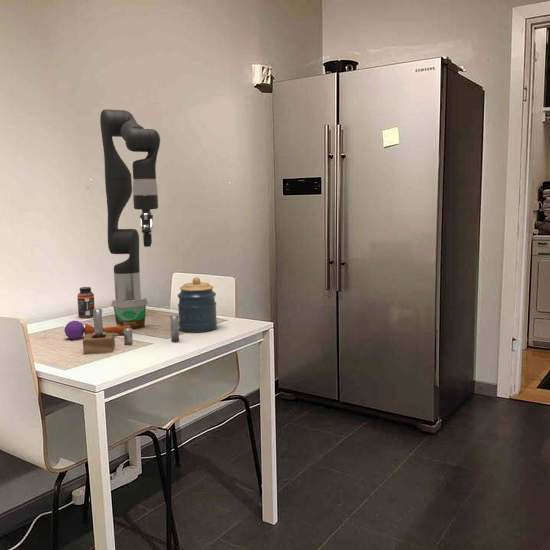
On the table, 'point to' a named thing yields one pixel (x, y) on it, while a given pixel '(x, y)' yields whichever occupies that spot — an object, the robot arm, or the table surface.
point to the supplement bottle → (85, 302)
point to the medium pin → (174, 328)
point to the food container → (130, 313)
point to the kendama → (89, 329)
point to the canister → (197, 307)
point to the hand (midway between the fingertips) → (147, 245)
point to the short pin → (128, 336)
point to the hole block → (98, 343)
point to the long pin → (98, 323)
